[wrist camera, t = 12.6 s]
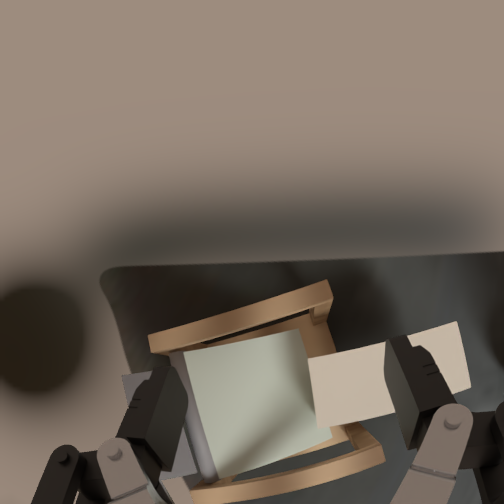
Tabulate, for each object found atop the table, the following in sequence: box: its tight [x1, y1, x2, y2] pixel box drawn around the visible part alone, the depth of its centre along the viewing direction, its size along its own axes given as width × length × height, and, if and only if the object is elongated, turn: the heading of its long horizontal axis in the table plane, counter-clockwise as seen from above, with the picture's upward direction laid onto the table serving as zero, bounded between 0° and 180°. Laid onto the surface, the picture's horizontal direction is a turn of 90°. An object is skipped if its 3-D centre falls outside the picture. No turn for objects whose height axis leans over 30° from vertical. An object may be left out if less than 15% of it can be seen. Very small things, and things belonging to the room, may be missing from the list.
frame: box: [148, 279, 385, 504], centre depth 22 cm, size 12×12×10 cm
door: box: [122, 328, 333, 483], centre depth 20 cm, size 13×9×2 cm
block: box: [308, 321, 471, 429], centre depth 19 cm, size 4×4×10 cm
